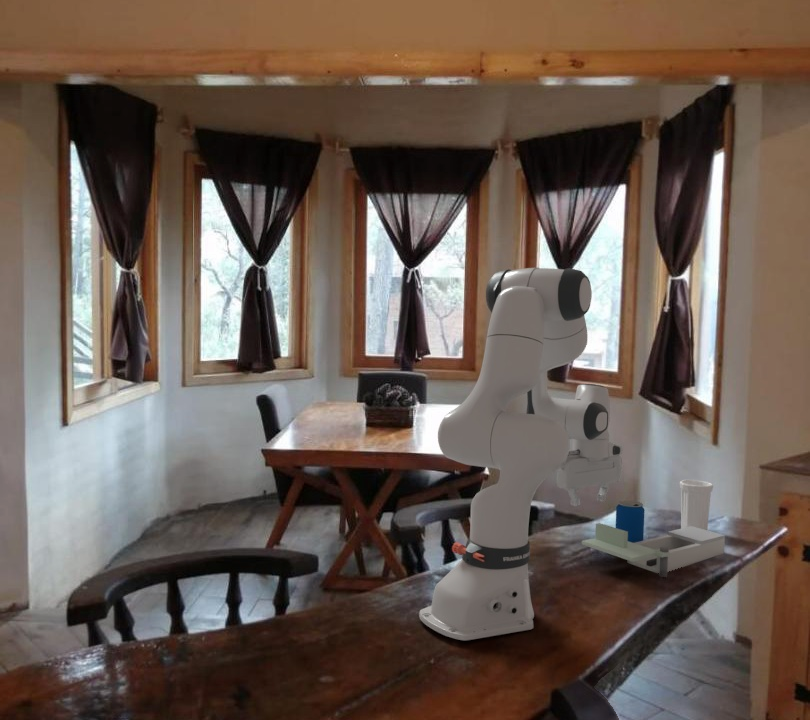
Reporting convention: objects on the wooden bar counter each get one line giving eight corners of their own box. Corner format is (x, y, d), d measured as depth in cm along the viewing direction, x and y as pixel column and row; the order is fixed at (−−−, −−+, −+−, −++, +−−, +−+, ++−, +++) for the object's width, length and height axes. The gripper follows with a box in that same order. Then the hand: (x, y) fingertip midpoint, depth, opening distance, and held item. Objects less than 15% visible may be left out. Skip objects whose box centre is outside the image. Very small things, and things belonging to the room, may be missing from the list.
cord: (650, 566, 166) (650, 562, 166) (646, 565, 167) (646, 560, 167) (710, 550, 179) (710, 546, 179) (706, 549, 180) (707, 545, 180)
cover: (670, 555, 161) (671, 535, 161) (638, 563, 155) (639, 543, 155) (613, 537, 174) (614, 519, 174) (581, 544, 168) (582, 525, 168)
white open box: (664, 578, 161) (665, 554, 160) (623, 563, 170) (624, 541, 169) (730, 558, 175) (732, 537, 175) (690, 546, 184) (691, 526, 184)
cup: (687, 531, 198) (689, 478, 197) (716, 538, 192) (719, 483, 191) (671, 536, 193) (673, 481, 192) (700, 544, 186) (703, 487, 186)
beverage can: (645, 557, 174) (647, 507, 174) (616, 556, 175) (618, 505, 174) (639, 550, 180) (641, 501, 180) (612, 548, 181) (614, 499, 181)
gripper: (570, 453, 177) (568, 511, 178) (626, 447, 189) (624, 501, 189) (551, 449, 182) (549, 505, 183) (607, 443, 194) (605, 495, 194)
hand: (588, 503), depth 186 cm, fingers open, 8 cm apart
